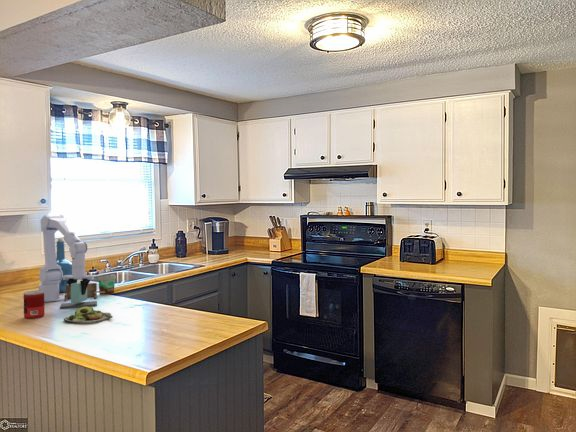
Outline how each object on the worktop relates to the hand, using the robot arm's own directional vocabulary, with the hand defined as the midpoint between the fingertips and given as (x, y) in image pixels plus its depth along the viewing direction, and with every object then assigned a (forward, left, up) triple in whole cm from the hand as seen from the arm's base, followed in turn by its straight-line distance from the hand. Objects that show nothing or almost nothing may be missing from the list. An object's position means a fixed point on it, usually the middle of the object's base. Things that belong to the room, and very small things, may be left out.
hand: (78, 294), depth 223 cm
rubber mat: (0, 0, -6) cm, 6 cm away
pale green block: (0, 0, -3) cm, 3 cm away
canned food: (-17, -17, -6) cm, 25 cm away
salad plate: (+5, -30, -6) cm, 31 cm away
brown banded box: (0, +20, -6) cm, 20 cm away
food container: (+14, +30, -6) cm, 34 cm away
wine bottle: (-12, +47, -6) cm, 49 cm away
